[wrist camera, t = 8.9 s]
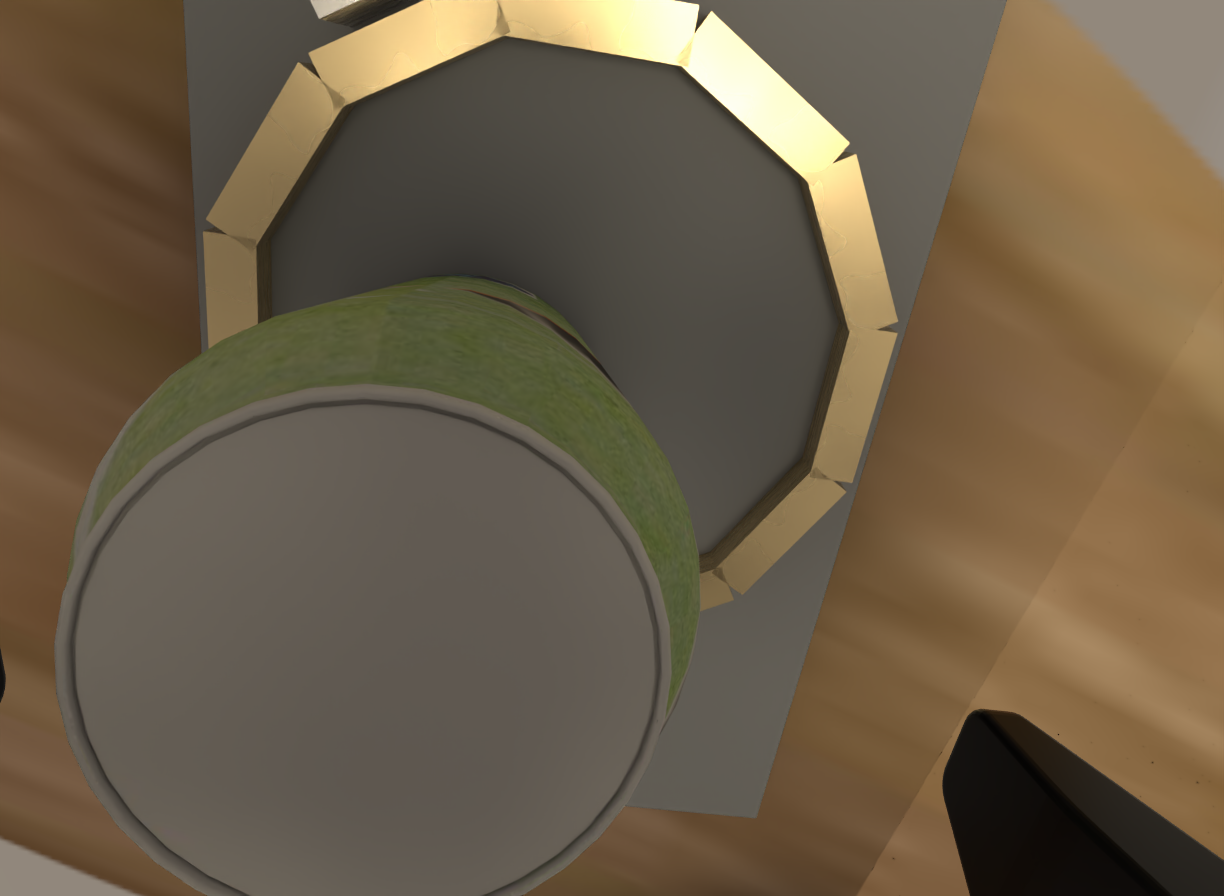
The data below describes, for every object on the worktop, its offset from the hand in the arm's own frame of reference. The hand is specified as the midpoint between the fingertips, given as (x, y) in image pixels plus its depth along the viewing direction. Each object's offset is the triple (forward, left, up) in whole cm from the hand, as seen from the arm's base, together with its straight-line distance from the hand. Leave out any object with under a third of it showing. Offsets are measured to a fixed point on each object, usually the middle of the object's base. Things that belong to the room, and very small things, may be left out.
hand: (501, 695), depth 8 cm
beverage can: (-1, +1, -11) cm, 11 cm away
